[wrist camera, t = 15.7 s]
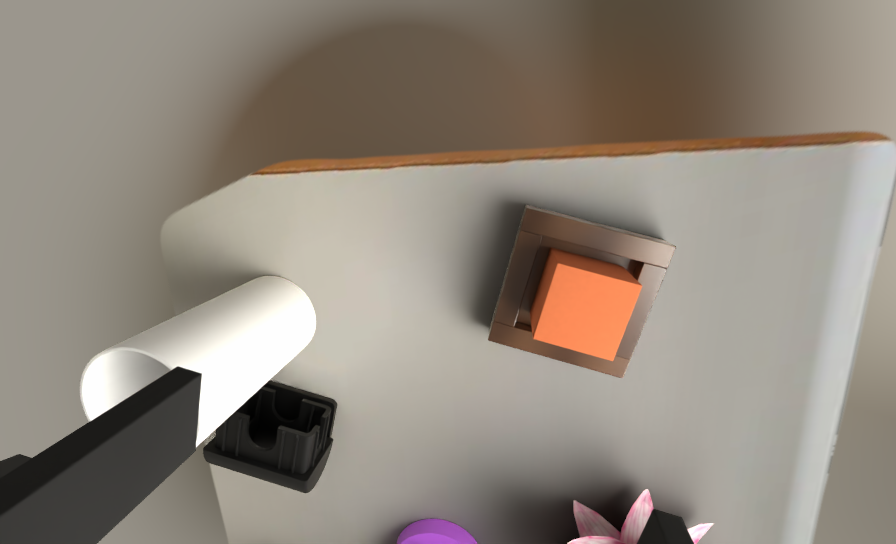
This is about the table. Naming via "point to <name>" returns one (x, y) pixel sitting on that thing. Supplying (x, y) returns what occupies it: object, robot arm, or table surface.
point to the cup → (209, 350)
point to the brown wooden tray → (586, 239)
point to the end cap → (277, 437)
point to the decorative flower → (605, 540)
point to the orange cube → (583, 304)
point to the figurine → (435, 533)
